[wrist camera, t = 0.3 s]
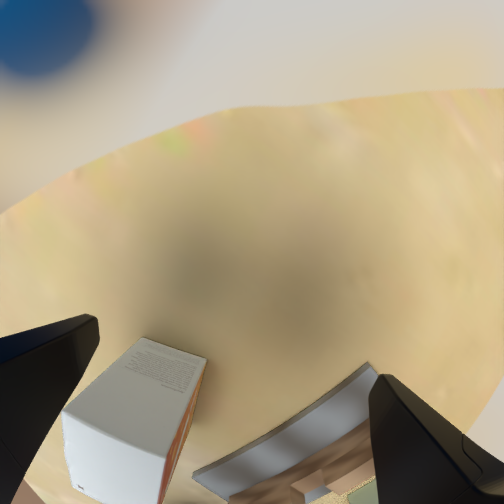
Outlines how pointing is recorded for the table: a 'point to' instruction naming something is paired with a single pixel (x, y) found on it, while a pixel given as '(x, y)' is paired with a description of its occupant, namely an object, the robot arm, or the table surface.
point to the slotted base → (303, 452)
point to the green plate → (365, 494)
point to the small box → (132, 424)
